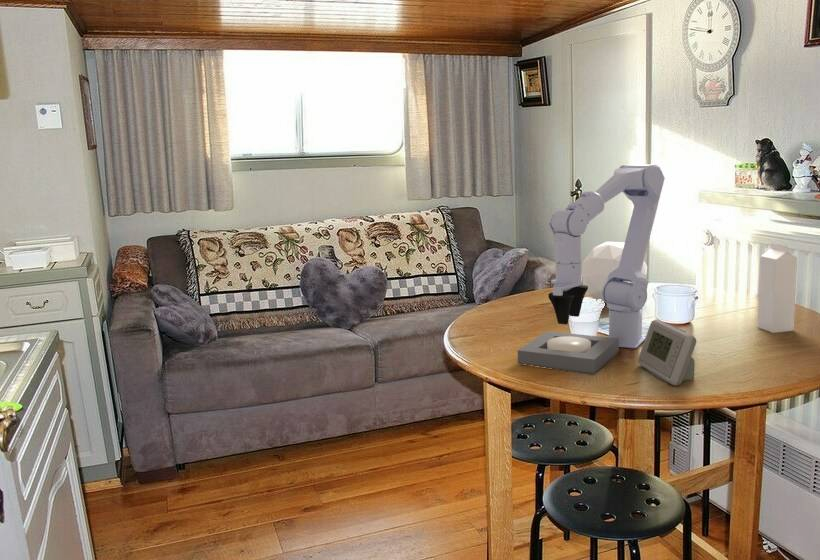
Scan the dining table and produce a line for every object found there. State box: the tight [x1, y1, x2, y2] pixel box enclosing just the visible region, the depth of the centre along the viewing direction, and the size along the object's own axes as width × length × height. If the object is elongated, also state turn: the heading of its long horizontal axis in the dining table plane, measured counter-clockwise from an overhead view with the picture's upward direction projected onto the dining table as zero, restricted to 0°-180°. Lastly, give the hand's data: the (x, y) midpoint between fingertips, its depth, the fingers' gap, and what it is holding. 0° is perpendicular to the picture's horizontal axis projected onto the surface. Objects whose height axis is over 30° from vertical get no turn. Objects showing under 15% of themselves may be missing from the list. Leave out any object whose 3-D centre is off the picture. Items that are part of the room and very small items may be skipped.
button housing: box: [517, 330, 620, 376], centre depth 169 cm, size 18×18×4 cm
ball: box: [581, 241, 648, 305], centre depth 220 cm, size 19×20×20 cm
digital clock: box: [637, 319, 697, 387], centre depth 154 cm, size 16×9×11 cm, turn 178°
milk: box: [757, 242, 798, 334], centre depth 183 cm, size 6×6×22 cm
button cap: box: [547, 336, 591, 353], centre depth 169 cm, size 10×10×3 cm
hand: (568, 319), depth 168 cm, fingers open, 7 cm apart
